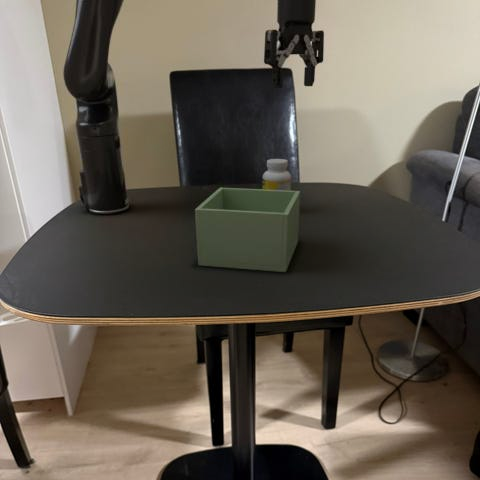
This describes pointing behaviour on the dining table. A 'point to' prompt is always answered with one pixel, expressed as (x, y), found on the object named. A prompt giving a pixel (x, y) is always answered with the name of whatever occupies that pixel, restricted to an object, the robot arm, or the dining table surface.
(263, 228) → the storage bin
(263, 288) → the dining table surface
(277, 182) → the pill bottle
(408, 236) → the dining table surface
